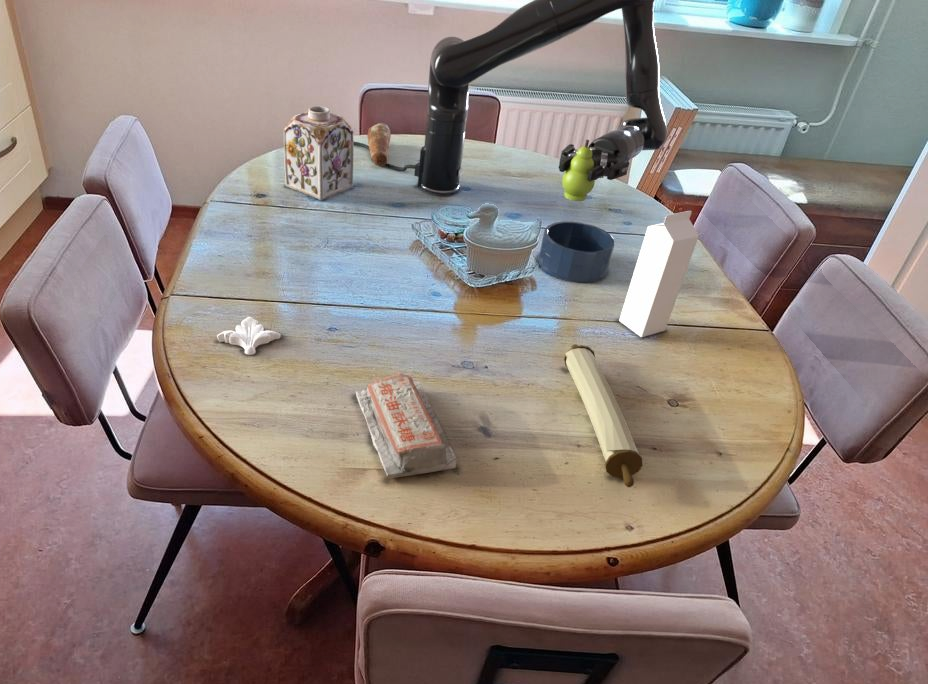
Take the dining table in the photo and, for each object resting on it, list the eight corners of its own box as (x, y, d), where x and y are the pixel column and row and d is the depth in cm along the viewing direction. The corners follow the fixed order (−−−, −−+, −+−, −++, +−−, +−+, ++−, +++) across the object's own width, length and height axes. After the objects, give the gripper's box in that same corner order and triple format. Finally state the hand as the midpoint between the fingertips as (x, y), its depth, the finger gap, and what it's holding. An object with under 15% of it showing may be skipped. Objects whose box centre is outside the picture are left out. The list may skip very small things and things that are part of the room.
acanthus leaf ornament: (217, 341, 113) (216, 332, 112) (245, 323, 118) (244, 313, 117) (253, 357, 110) (252, 347, 109) (281, 337, 115) (280, 328, 114)
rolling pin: (645, 499, 93) (656, 472, 90) (605, 498, 92) (614, 471, 89) (587, 357, 118) (594, 332, 115) (554, 355, 118) (560, 331, 114)
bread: (390, 143, 193) (391, 123, 189) (389, 169, 178) (390, 147, 174) (367, 141, 192) (368, 121, 189) (364, 167, 177) (365, 145, 174)
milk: (665, 331, 127) (707, 218, 113) (640, 338, 124) (680, 223, 111) (641, 314, 131) (679, 203, 117) (617, 320, 128) (653, 207, 115)
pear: (554, 198, 141) (566, 140, 134) (564, 188, 146) (576, 132, 138) (585, 206, 139) (599, 148, 132) (594, 195, 144) (608, 139, 136)
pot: (528, 269, 141) (534, 239, 137) (551, 243, 151) (557, 215, 147) (595, 289, 137) (603, 259, 133) (614, 261, 147) (622, 233, 143)
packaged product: (462, 443, 91) (389, 455, 88) (458, 470, 94) (387, 482, 91) (420, 363, 105) (355, 371, 102) (418, 388, 108) (354, 396, 105)
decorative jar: (317, 173, 172) (317, 97, 161) (354, 187, 167) (356, 110, 156) (283, 187, 164) (280, 107, 153) (320, 201, 159) (320, 121, 148)
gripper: (585, 124, 149) (547, 142, 138) (648, 142, 142) (614, 163, 131) (577, 159, 153) (540, 179, 142) (638, 178, 147) (604, 200, 136)
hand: (575, 171), depth 137 cm, fingers closed on pear, 5 cm apart
